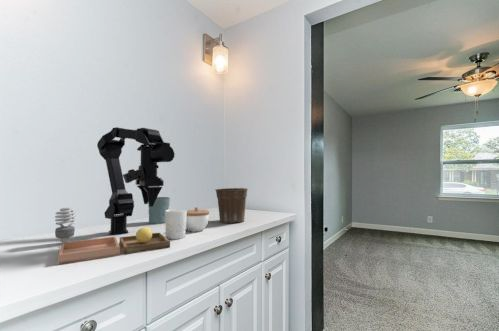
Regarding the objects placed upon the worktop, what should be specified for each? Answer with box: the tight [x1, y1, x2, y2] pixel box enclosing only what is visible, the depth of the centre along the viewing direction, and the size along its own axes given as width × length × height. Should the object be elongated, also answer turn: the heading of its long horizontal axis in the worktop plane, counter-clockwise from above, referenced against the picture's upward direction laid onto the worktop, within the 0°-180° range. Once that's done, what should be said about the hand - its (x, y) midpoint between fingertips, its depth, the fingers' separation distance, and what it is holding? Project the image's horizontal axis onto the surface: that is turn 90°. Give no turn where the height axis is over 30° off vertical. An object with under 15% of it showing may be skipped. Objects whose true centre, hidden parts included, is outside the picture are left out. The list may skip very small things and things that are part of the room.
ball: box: [135, 226, 153, 243], centre depth 83 cm, size 5×5×5 cm
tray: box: [119, 232, 171, 255], centre depth 83 cm, size 14×13×2 cm
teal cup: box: [147, 196, 171, 225], centre depth 124 cm, size 10×10×12 cm
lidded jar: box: [186, 207, 210, 232], centre depth 107 cm, size 11×11×9 cm
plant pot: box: [214, 187, 249, 224], centre depth 127 cm, size 16×16×16 cm
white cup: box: [164, 208, 187, 240], centre depth 94 cm, size 8×8×10 cm
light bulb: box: [54, 207, 76, 244], centre depth 86 cm, size 6×6×12 cm
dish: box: [57, 235, 121, 266], centre depth 75 cm, size 14×14×2 cm
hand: (148, 205), depth 93 cm, fingers open, 9 cm apart
